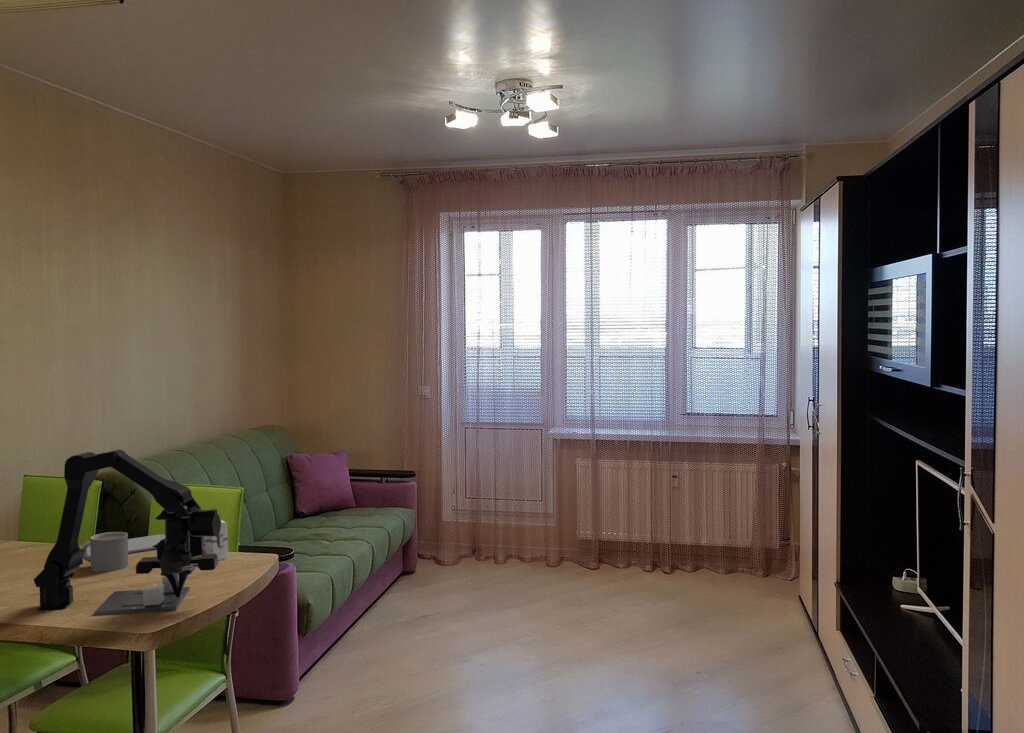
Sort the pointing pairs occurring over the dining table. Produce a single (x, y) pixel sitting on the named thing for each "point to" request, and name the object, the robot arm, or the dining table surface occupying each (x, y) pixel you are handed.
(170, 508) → the robot arm
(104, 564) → the coffee mug
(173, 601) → the plate
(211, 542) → the ink box
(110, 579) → the dining table surface
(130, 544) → the tablet
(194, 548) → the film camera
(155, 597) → the fader
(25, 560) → the dining table surface
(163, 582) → the fader
